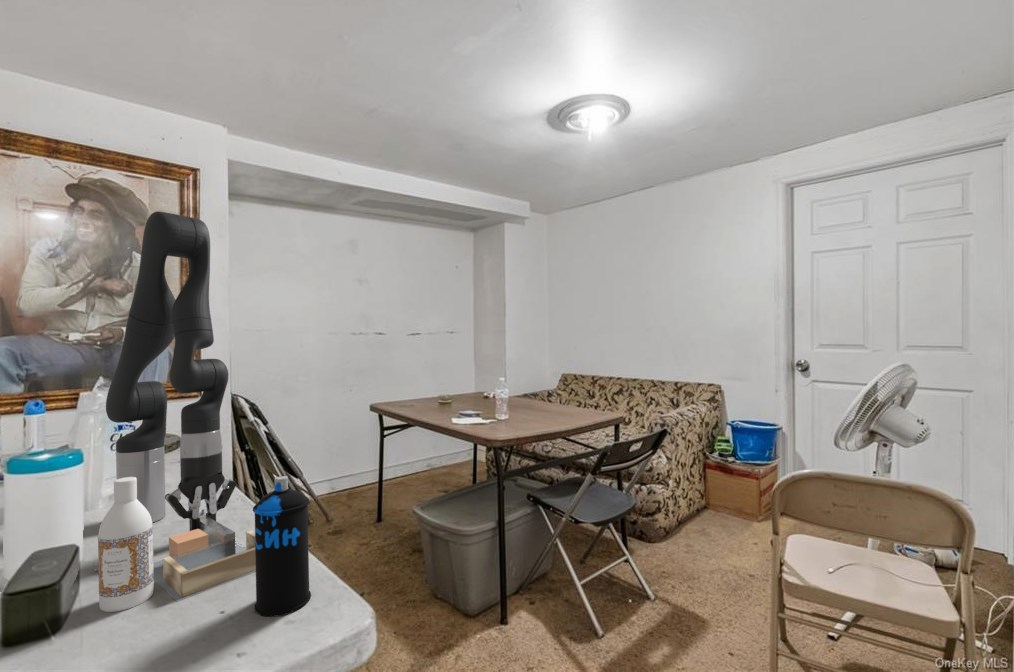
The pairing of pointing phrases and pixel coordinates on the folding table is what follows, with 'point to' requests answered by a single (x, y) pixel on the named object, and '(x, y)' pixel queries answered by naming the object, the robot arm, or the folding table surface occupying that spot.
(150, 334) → the robot arm
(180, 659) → the folding table surface
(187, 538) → the block
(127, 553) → the bath foam
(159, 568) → the mat
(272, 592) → the aerosol can
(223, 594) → the folding table surface
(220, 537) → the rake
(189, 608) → the folding table surface
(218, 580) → the stall
